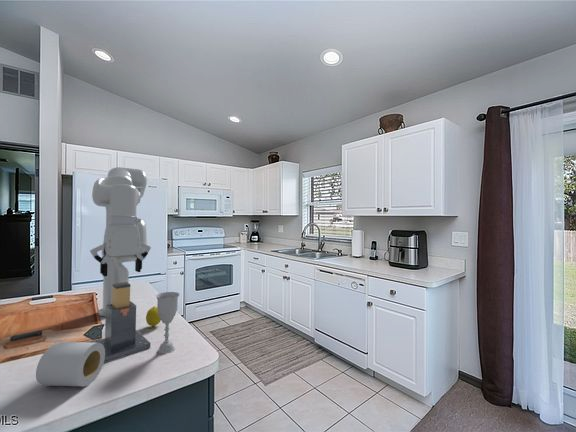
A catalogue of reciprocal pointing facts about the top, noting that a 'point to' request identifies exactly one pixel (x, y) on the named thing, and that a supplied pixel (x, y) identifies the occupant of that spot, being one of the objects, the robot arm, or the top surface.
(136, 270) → the robot arm
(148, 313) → the lemon
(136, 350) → the stand
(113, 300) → the column
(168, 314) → the chalice
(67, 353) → the toilet paper
